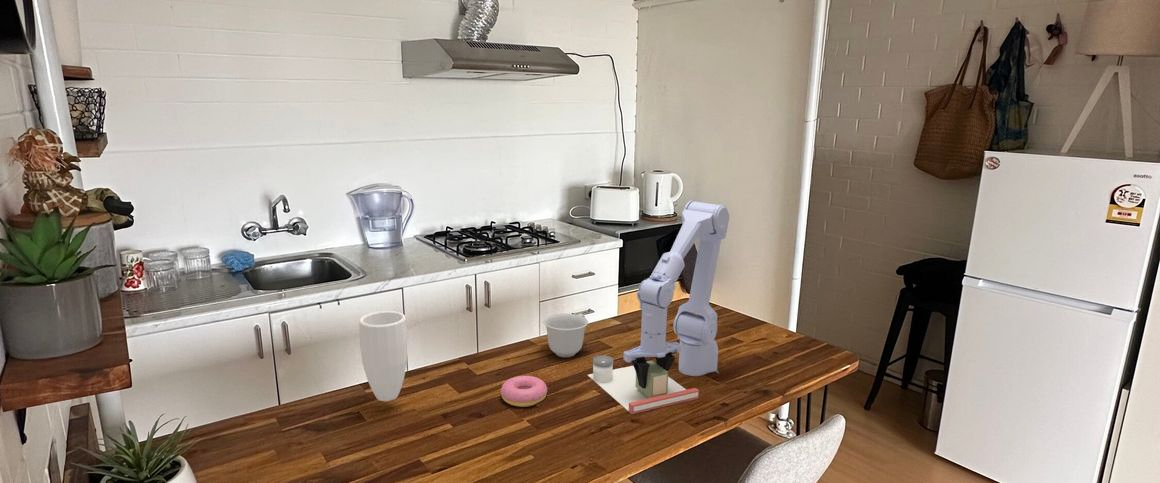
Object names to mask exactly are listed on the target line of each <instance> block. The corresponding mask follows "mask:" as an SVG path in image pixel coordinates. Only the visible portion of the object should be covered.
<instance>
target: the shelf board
mask: <svg viewBox="0 0 1160 483" xmlns="http://www.w3.org/2000/svg"><path fill="white" fill-rule="evenodd" d="M587 376H588V377H589V378H590V379H591V380H592V381H594V380H593V373H589V374H587ZM594 383H595V384H597V385H598V386H599V387H600V388H601V389H602V390H604V391H605V392H606V393H607V394H609V396H611V397H612V398H613V399H614V400H615V401H616V402H617V403H618V404H620V405H621V406H622V407H623V408H624V409H625V410H626V411H627V412H629V413H630V414H632V415H636V414H639V413H643V412H649V411H651V410H655V409H656V410H657V409H660V408H664V407H669V406H673V405H677V404H681V403H682V404H683V403H685V402H690V401H693V400H697V399H699V397H700V396H699V395H700V389H698V388H696V387H693V388H688V389H686V388H685V387H683V386H682V385H681V384H679V383H678V382H677V381H675V380H674V379H673V378H672V377H669V376H668V390H667V394H666V395H661V396H657V397H652V398H649V397H647V396H646V395H645V394H644V393H642V392H641V391H640V390H639V389H637V388H636V387H635V385H636V371H635V369H634V366H633V365H630V366H626V367H624V366H623V367H620V368H615V369H613V376H612V381H610V382H607V383H599V382H596V381H594Z"/></svg>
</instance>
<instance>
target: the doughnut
mask: <svg viewBox="0 0 1160 483" xmlns="http://www.w3.org/2000/svg"><path fill="white" fill-rule="evenodd" d="M547 393H548V386H547V384H546V383H545V382H544V380H542V379H541V378H539V377H536V376H533V375H525V374H524V375H517V376H514V377H511V378H509V379H507V380H505V381H504V383H502V385H501V388H500V395H501V398H502V399H503V401H504V402H505V403H507V404H509V405H511V406H514V407H519V408H520V407H521V408H522V407H523V408H524V407H527V408H528V407H533V406H535V405H536V406H537V404H538V403H540V402H542V401H544V400H545V399H546V396H547Z"/></svg>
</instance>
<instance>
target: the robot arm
mask: <svg viewBox="0 0 1160 483" xmlns="http://www.w3.org/2000/svg"><path fill="white" fill-rule="evenodd" d="M681 222H682V225H681V227H680V229H679V231H678V234H676V238H675V240H674V241H673V244H672V246H671V249H670V251H668V252H664V253H662V255H661V257H660V259H659V260H658V262H657V264H656V266H655V267H654V269H653V271H652V273H651V275H650V276H649V277H648V278H646V279H644V280H642V281H641V283H640V284H639V286H638V290H637V292H636V298H637V300H638V301H639V309H640V311H641V322H640V323H641V325H640V328H641V331H640V345H639V346H637V347H634V348H632V349H629V350H625V351H623V360H624V361H625V362H627V363H631V365H632V366H634V369H635V371H636V374H637V378H638V383H639V386H640V387H642V388H643V389H644V388H646V384H647V373H648V369H649V366H650V364H649V363H647V360H646V358H653V357H654V358H655V363H656V364H658V365H659V366H661V367H662V368H663V369H665V370H666V371H668V372H669V371H670V368H672V365H673V364H674V362H675V360H676V356H675V355H673V353H677V354H679V355H678V371H679V373H681V374H683V375H685V376H690V377H691V376H692V377H699V376H700V377H702V376H704V375H706V374H709V373H714V372H716V373H718V374H720V373H719V371H718V358H719V347H718V344H717V342H716V339H715V338H716V336H717V333H718V313H717V312H716V311H715V309H714V308H712V306H711V305H710V300H711V295H712V290H713V285H714V282H715V281H714V280H715V274H716V269H717V265H718V259H719V254H720V248H721V242H722V240H723V239H724V240H725V239H726V238H727V237H726V235H727V232H728V227H729V222H730V213H729V211H728V208H727V206H726V205H725V204H714V203H708V202H701V201H700V202H699V201H695V200H689V201H687V203H686V204H685V205H684V208H683V210H682V213H681ZM697 239H698V240H699V246H698V249H697V255H696V260H695V265H694V266H695V267H694V269H693V271H694V272H693V275H692V281H691V286H690V291H689V297H688V301H686V302H685V303H683V304H681V305H680V306H678V310H677V314H676V316H675V318H674V320H673V324H672V325H673V331H674V333H675V334H676V335H677V339H678V340H679V342H677V341H675V342H667V339H666V338H667V323H668V322H667V320H668V318H667V317H668V306H670V304H671V303H672V301H673V298H674V292H675V290H676V285H675V284H676V283H677V281H678V279H679V277H680V275H681V274H682V271H683V270H684V268H685V265H686V264H685V261H684V258H685V257H686V256H687V254H688V253H689V251H690V250H691V248H692V247H693V245H694V244H695V243H696V241H697Z"/></svg>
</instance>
